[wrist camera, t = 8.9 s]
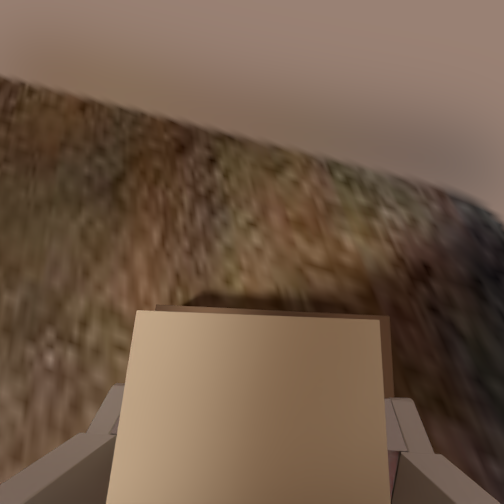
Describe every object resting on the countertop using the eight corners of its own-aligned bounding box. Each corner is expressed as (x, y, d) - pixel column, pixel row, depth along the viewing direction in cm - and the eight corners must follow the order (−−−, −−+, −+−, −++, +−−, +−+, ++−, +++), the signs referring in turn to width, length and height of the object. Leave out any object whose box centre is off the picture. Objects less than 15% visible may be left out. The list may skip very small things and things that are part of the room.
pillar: (199, 502, 14) (90, 605, 6) (210, 375, 16) (136, 310, 7) (323, 510, 14) (398, 631, 5) (322, 380, 15) (379, 320, 7)
